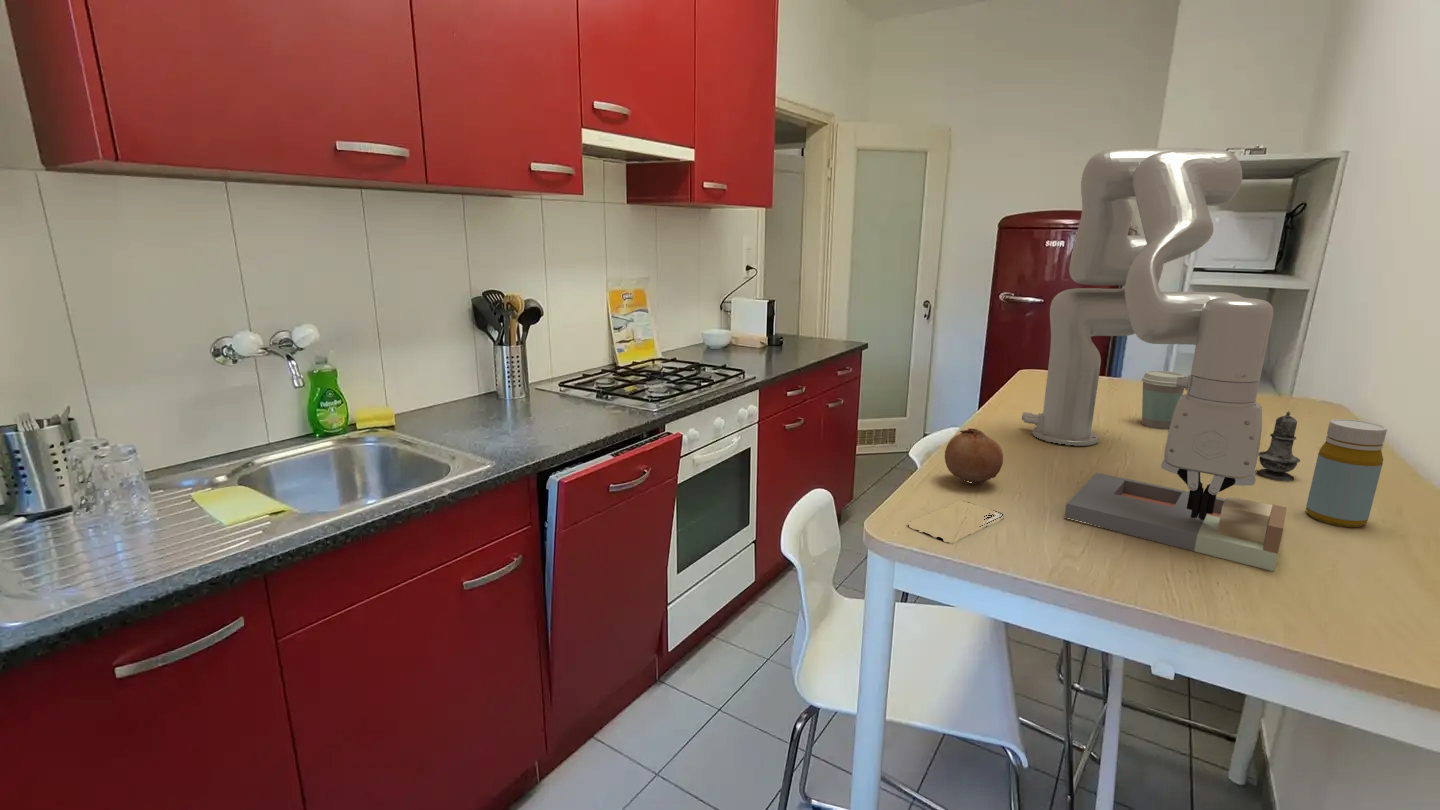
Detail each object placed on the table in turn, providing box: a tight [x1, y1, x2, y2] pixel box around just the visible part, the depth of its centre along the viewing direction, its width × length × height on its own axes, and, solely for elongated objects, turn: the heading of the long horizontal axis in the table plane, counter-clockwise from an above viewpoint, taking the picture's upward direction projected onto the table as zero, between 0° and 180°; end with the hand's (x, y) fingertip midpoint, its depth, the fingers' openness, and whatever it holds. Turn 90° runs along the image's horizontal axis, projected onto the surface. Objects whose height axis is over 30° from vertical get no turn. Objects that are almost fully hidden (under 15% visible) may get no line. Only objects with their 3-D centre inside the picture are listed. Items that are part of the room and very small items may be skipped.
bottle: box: [1305, 418, 1388, 528], centre depth 99 cm, size 7×7×15 cm
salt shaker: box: [1255, 410, 1301, 482], centre depth 118 cm, size 6×6×12 cm
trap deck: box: [1064, 472, 1287, 572], centre depth 99 cm, size 25×18×6 cm
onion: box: [944, 427, 1004, 484], centre depth 115 cm, size 10×9×10 cm
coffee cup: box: [1141, 370, 1186, 430], centre depth 149 cm, size 8×9×12 cm
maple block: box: [1217, 495, 1273, 544], centre depth 90 cm, size 5×5×4 cm
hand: (1198, 515), depth 94 cm, fingers closed
